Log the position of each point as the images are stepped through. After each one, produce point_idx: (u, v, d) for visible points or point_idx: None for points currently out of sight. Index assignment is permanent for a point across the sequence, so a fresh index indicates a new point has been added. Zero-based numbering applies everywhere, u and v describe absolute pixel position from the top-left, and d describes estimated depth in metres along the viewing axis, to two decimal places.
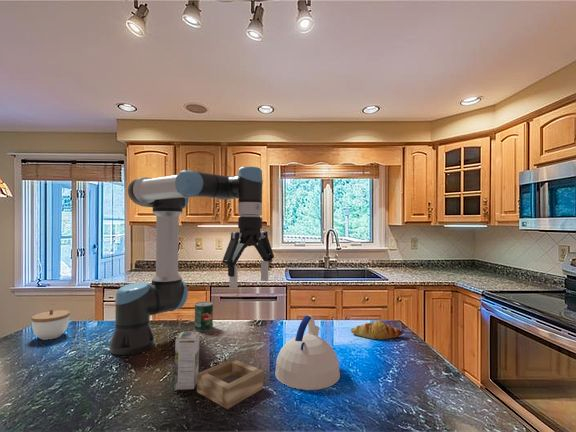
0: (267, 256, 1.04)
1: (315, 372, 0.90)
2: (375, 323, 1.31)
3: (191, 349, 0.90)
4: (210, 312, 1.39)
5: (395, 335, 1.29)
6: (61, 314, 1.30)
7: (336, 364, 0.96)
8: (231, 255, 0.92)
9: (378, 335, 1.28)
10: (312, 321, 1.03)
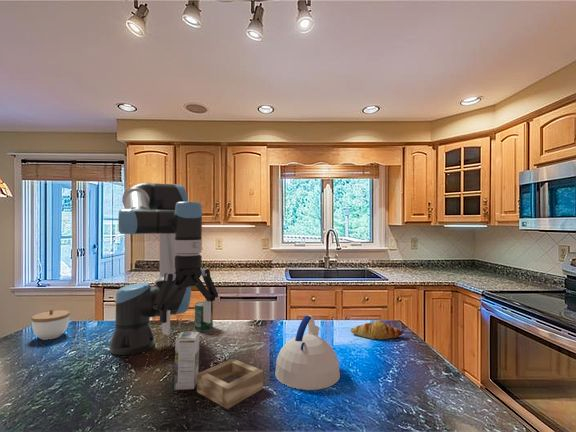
0: (209, 296, 0.97)
1: (315, 372, 0.90)
2: (375, 323, 1.31)
3: (191, 349, 0.90)
4: None
5: (395, 335, 1.29)
6: (61, 314, 1.30)
7: (336, 364, 0.96)
8: (162, 300, 0.85)
9: (378, 335, 1.28)
10: (312, 321, 1.03)
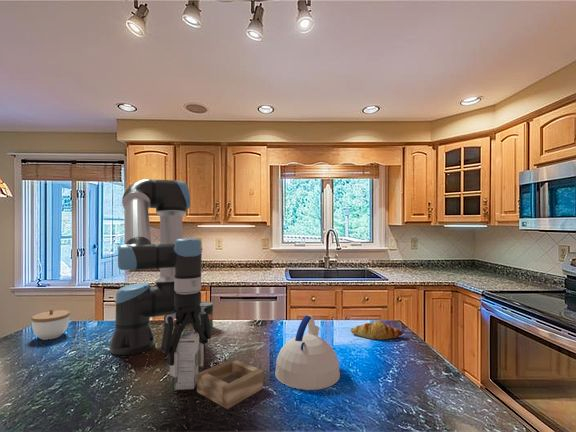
0: (203, 337, 0.95)
1: (315, 372, 0.90)
2: (375, 323, 1.31)
3: (191, 349, 0.90)
4: (210, 312, 1.39)
5: (395, 335, 1.29)
6: (61, 314, 1.30)
7: (336, 364, 0.96)
8: (168, 343, 0.86)
9: (377, 336, 1.28)
10: (312, 321, 1.03)
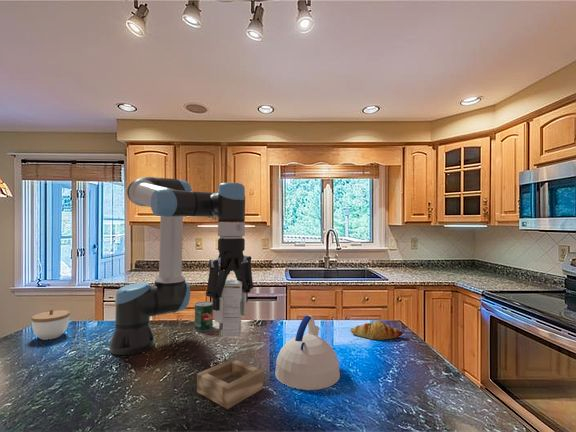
0: (245, 286, 0.93)
1: (315, 372, 0.90)
2: (374, 323, 1.31)
3: (236, 295, 0.87)
4: (210, 312, 1.39)
5: (394, 336, 1.29)
6: (61, 314, 1.30)
7: (336, 364, 0.96)
8: (214, 287, 0.84)
9: (377, 336, 1.28)
10: (312, 321, 1.03)
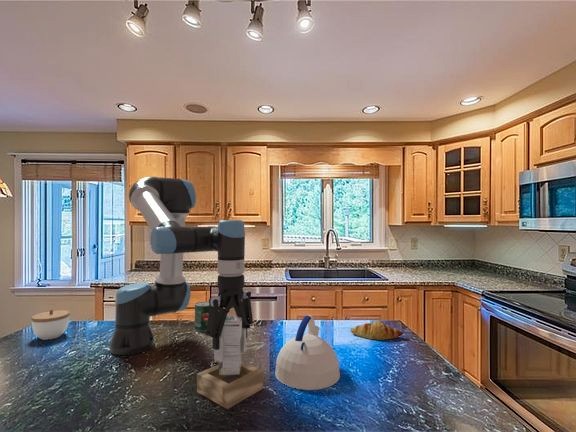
0: (245, 322, 0.93)
1: (315, 372, 0.90)
2: (374, 323, 1.31)
3: (236, 333, 0.87)
4: None
5: (394, 336, 1.28)
6: (61, 314, 1.30)
7: (336, 364, 0.96)
8: (214, 327, 0.84)
9: (377, 336, 1.28)
10: (312, 321, 1.03)
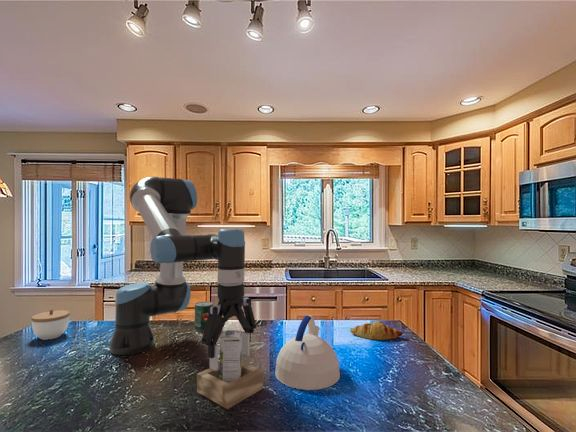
0: (248, 327, 0.94)
1: (315, 372, 0.90)
2: (374, 323, 1.31)
3: (236, 348, 0.87)
4: None
5: (394, 336, 1.28)
6: (61, 314, 1.30)
7: (336, 364, 0.96)
8: (210, 335, 0.83)
9: (376, 336, 1.27)
10: (312, 321, 1.03)
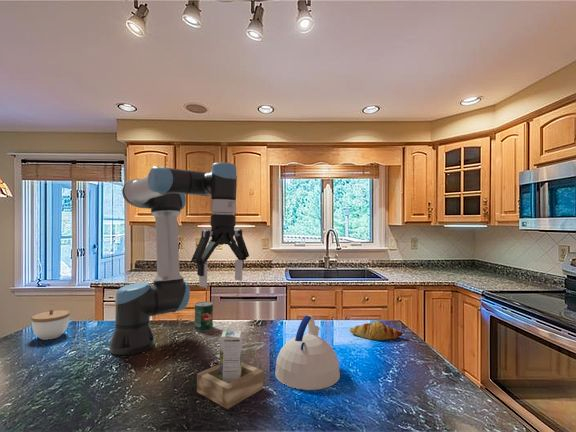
0: (241, 255, 1.02)
1: (315, 372, 0.90)
2: (373, 323, 1.31)
3: (236, 349, 0.87)
4: (210, 312, 1.39)
5: (394, 336, 1.28)
6: (61, 314, 1.30)
7: (336, 364, 0.96)
8: (200, 254, 0.90)
9: (376, 336, 1.27)
10: (312, 321, 1.03)
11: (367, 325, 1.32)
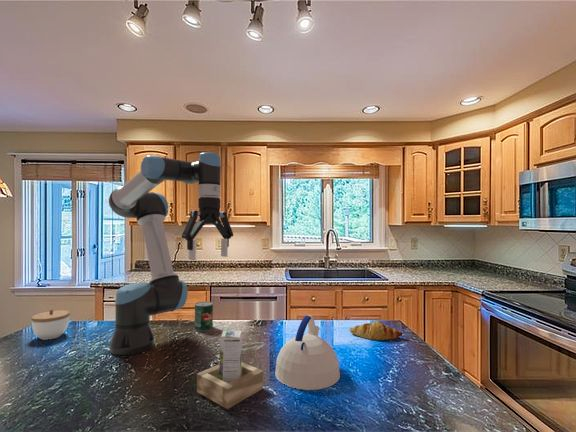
0: (226, 234, 1.16)
1: (315, 372, 0.90)
2: (373, 323, 1.30)
3: (236, 349, 0.87)
4: (210, 312, 1.39)
5: (393, 336, 1.28)
6: (61, 314, 1.30)
7: (336, 364, 0.96)
8: (189, 230, 1.03)
9: (375, 336, 1.27)
10: (312, 321, 1.03)
11: (367, 325, 1.32)
